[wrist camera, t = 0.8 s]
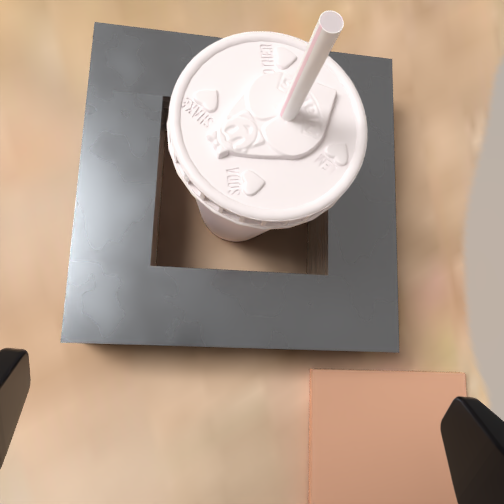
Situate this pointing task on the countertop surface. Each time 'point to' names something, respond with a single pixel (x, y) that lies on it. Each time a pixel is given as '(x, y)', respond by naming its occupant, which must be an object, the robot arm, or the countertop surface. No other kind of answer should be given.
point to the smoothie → (266, 130)
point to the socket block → (214, 280)
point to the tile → (380, 436)
